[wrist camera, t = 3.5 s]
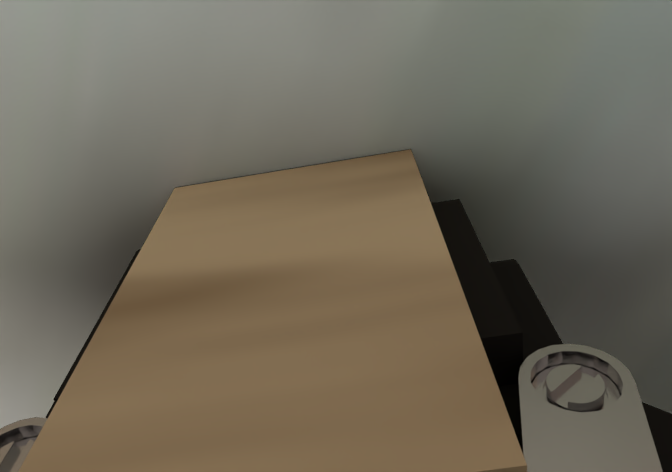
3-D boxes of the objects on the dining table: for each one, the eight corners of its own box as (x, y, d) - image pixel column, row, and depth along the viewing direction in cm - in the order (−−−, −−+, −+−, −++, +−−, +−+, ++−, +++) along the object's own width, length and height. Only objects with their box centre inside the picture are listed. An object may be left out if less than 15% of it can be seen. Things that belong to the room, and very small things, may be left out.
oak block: (431, 338, 13) (529, 725, 7) (234, 366, 13) (154, 762, 7) (410, 149, 11) (527, 465, 5) (174, 188, 11) (-16, 534, 5)
